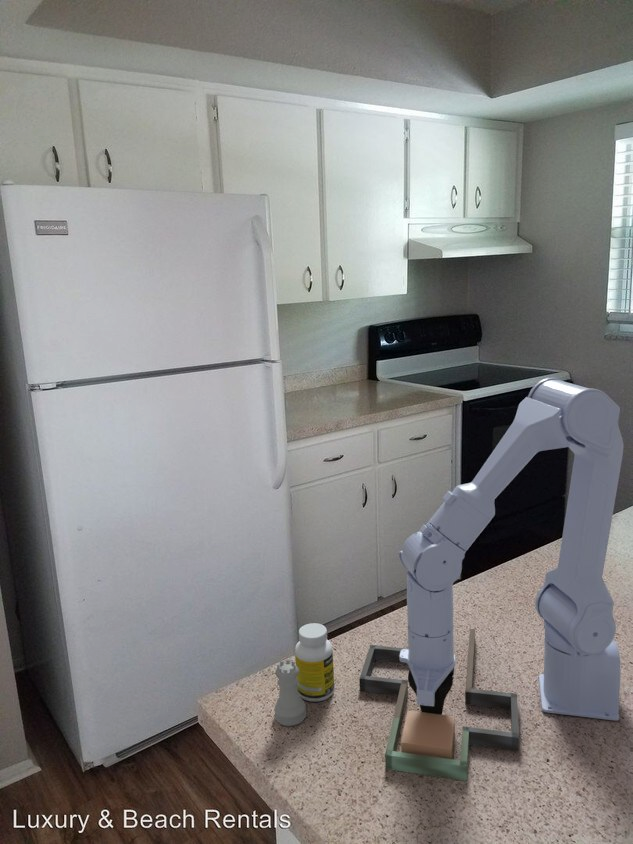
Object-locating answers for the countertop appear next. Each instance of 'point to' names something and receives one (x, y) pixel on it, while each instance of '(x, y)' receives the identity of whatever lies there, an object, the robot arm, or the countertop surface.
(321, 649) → the supplement bottle
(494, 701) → the box
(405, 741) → the light orange-tan block
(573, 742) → the countertop surface
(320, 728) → the countertop surface
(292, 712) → the rook chess piece
